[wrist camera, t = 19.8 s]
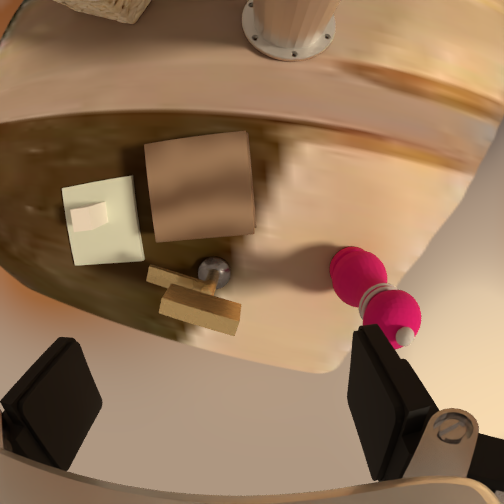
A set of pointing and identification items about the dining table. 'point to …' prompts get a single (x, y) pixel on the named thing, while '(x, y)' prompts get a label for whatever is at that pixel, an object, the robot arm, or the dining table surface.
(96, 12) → the storage basket
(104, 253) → the cover
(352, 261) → the pepper mill
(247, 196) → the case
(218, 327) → the key
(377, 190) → the dining table surface
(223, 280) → the silver metal disc
